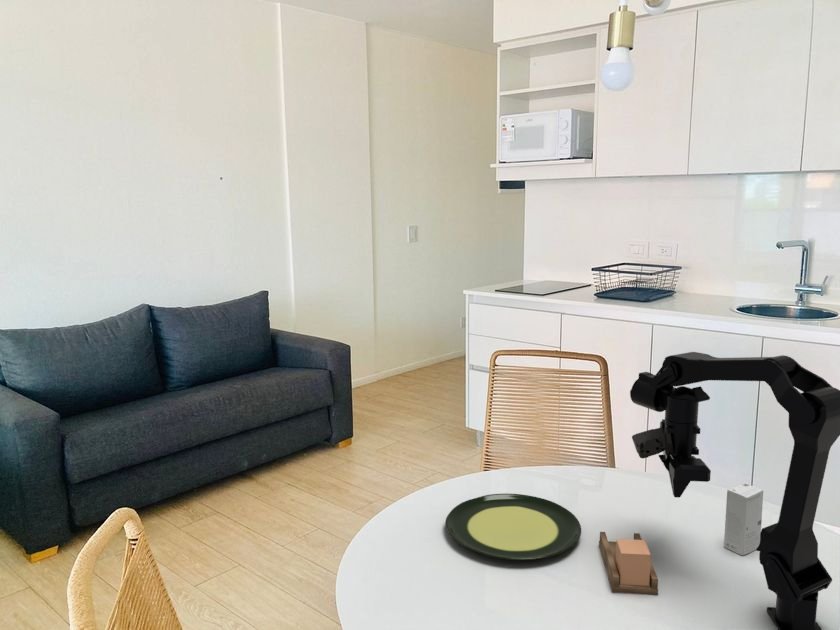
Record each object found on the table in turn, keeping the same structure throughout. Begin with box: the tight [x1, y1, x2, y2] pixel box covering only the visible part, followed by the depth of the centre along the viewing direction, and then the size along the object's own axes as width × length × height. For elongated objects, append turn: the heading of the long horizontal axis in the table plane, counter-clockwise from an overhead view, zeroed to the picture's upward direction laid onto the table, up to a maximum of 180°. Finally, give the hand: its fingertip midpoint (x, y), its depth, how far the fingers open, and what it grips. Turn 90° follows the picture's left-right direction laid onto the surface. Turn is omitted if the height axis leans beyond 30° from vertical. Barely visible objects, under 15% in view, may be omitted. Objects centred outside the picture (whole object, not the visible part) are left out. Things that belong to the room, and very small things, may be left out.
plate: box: [444, 493, 582, 561], centre depth 138 cm, size 28×28×2 cm
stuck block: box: [615, 538, 652, 586], centre depth 118 cm, size 5×5×6 cm
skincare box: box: [723, 483, 764, 556], centre depth 130 cm, size 6×4×12 cm
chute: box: [598, 531, 659, 596], centre depth 123 cm, size 16×8×3 cm, turn 173°
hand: (676, 496), depth 126 cm, fingers closed
